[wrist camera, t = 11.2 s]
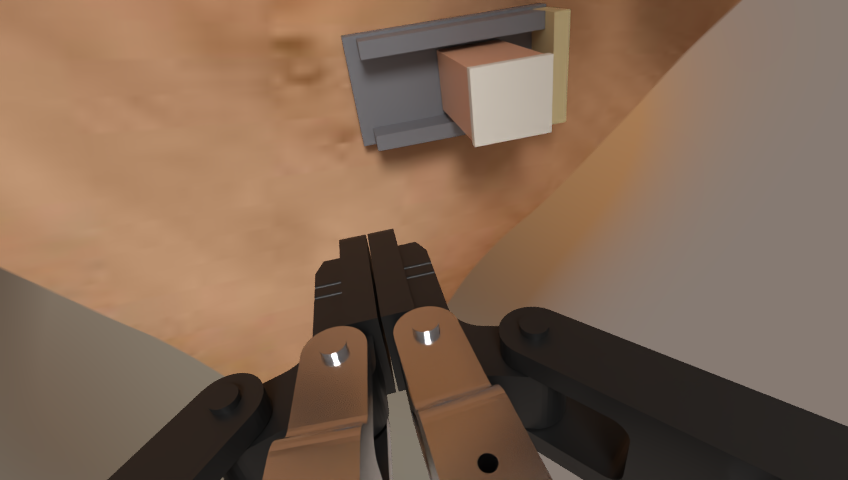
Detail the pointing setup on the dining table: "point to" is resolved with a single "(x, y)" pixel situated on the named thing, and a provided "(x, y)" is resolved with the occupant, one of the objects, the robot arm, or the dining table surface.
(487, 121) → the block
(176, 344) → the dining table surface
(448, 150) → the dining table surface
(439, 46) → the key track
